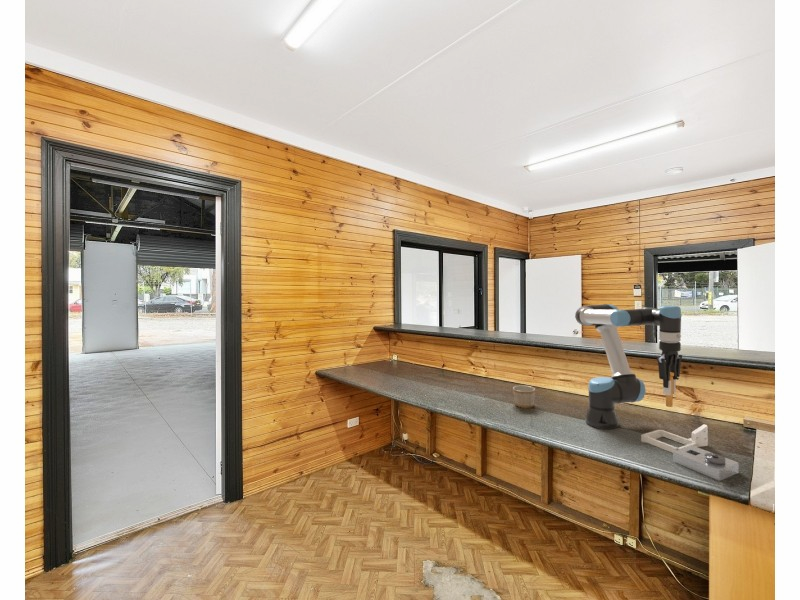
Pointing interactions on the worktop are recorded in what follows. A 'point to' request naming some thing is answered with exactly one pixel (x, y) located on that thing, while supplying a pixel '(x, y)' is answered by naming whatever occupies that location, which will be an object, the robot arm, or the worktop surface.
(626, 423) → the worktop surface
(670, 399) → the lock pin
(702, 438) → the white wedge bracket
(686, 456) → the block
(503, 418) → the worktop surface
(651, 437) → the tray
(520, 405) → the planter
